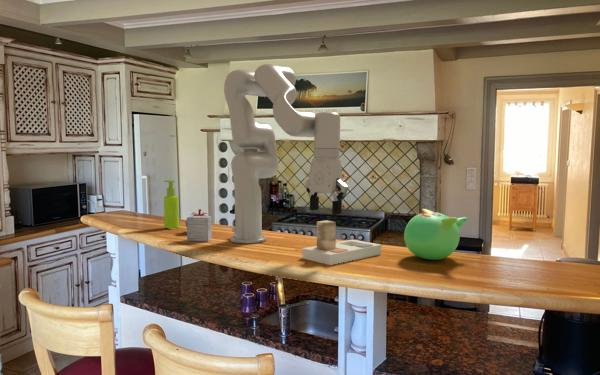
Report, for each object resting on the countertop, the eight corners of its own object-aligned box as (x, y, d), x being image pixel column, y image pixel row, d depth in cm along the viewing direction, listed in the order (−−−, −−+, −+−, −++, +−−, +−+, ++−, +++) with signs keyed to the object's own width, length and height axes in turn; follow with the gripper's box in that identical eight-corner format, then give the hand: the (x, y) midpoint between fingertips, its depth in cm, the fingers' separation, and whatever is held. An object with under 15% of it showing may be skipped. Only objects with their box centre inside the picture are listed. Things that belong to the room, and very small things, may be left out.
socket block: (302, 258, 143) (302, 247, 143) (352, 248, 158) (352, 238, 157) (330, 265, 134) (330, 253, 134) (381, 254, 148) (381, 243, 148)
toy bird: (412, 250, 154) (413, 205, 153) (467, 255, 146) (468, 208, 145) (396, 261, 138) (397, 211, 137) (457, 268, 131) (458, 215, 129)
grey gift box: (211, 239, 174) (211, 215, 173) (208, 241, 169) (208, 217, 169) (190, 239, 175) (190, 215, 174) (186, 241, 170) (186, 217, 170)
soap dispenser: (173, 226, 205) (172, 179, 203) (181, 228, 200) (180, 180, 198) (160, 227, 201) (159, 180, 199) (169, 229, 196) (167, 180, 194)
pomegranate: (183, 231, 191) (182, 208, 190) (207, 229, 195) (207, 207, 195) (189, 235, 182) (188, 211, 181) (214, 233, 186) (214, 210, 186)
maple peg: (316, 258, 144) (316, 221, 143) (326, 256, 146) (326, 220, 145) (325, 260, 141) (326, 223, 140) (335, 258, 143) (335, 221, 142)
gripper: (297, 153, 145) (296, 209, 147) (338, 155, 132) (336, 217, 134) (316, 153, 150) (314, 207, 152) (357, 155, 137) (355, 214, 139)
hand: (325, 212), depth 143 cm, fingers open, 9 cm apart
